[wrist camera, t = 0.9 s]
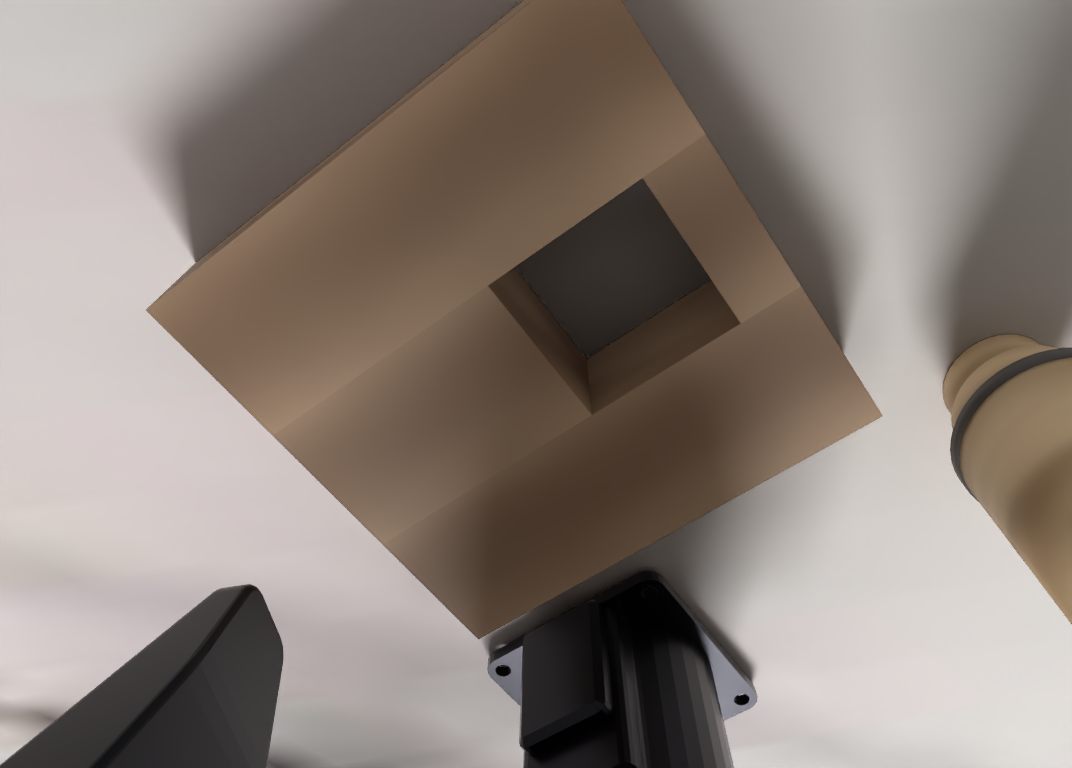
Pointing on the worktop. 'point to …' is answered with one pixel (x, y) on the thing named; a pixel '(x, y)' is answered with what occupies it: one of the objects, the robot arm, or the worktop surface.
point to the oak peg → (1018, 448)
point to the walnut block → (515, 322)
